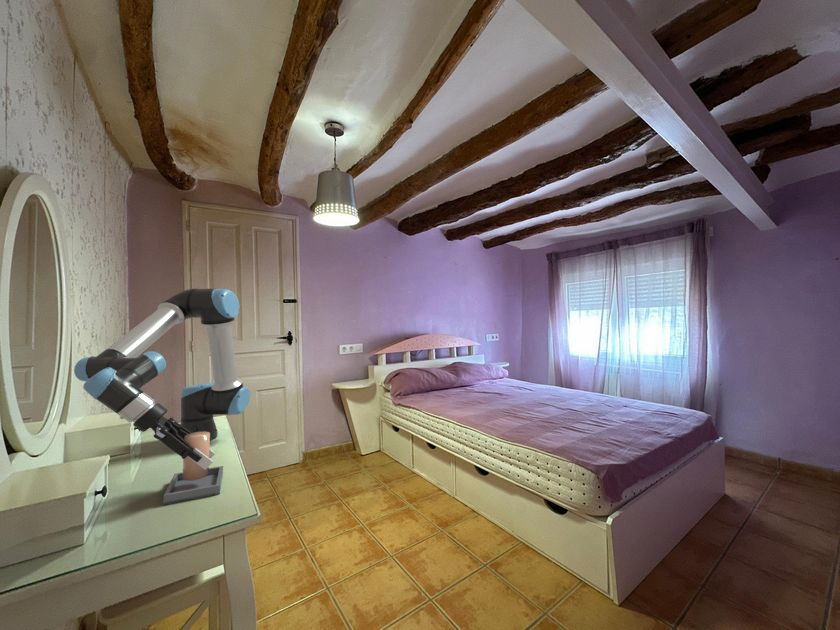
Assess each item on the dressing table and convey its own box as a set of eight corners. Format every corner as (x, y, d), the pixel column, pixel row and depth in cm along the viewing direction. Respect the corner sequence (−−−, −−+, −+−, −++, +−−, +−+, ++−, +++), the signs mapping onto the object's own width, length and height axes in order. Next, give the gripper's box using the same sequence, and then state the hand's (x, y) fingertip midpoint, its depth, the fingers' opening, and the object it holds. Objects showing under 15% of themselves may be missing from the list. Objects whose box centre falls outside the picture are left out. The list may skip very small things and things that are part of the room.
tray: (174, 481, 102) (174, 473, 103) (223, 473, 108) (223, 465, 109) (163, 505, 89) (163, 495, 89) (219, 494, 95) (219, 485, 95)
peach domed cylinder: (197, 470, 103) (198, 430, 103) (213, 472, 101) (215, 432, 101) (177, 478, 96) (178, 437, 97) (194, 481, 95) (195, 439, 95)
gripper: (141, 415, 101) (203, 460, 108) (120, 433, 84) (195, 485, 91) (164, 396, 104) (223, 441, 110) (147, 409, 86) (218, 462, 93)
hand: (210, 461), depth 100 cm, fingers closed on peach domed cylinder, 6 cm apart
